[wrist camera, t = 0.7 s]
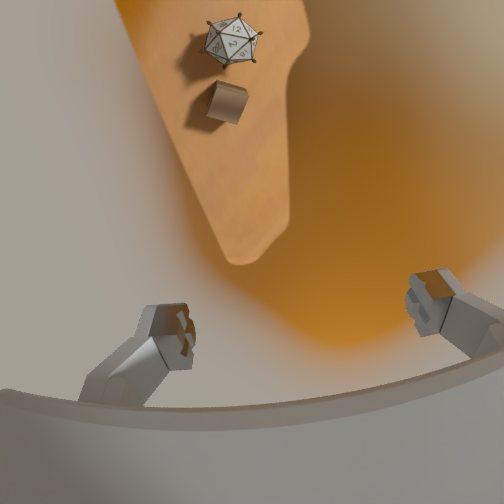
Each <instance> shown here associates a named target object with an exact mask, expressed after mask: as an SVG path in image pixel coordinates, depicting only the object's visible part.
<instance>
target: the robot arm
mask: <svg viewBox="0 0 504 504" xmlns="http://www.w3.org/2000/svg"><path fill="white" fill-rule="evenodd" d="M409 284H410V286H411V288H410V289H409V290H408V291H407V293H406V299H405V301H406V309H407V312H408V314H409V315H410V317H412V318H413V319H415V324H414V325H415V327H416V329H417V331H418V332H419V334H420V336H421V337H424V336H429V335H433V334H437V333H440V335H442V336H443V337H444V338H445V339H447V340H448V341H449V342H451V343H452V344H453V345H455V346H456V347H457V348H458V349H460V350H461V351H462V352H464V353H465V354H466V355H468V356H469V357H470V358H471V359H470V360H467V361H464V362H461V363H458V364H455V365H452V366H450V367H446V368H443V369H440V370H437V371H433V372H430V373H427V374H423V375H420V376H416V377H412V378H409V379H405V380H401V381H397V382H393V383H389V384H385V385H380V386H376V387H372V388H367V389H362V390H358V391H352V392H347V393H342V394H336V395H330V396H324V397H317V398H311V399H303V400H296V401H288V402H279V403H270V404H259V405H247V406H231V407H205V408H160V407H159V408H158V407H156V408H155V407H144V406H143V404H144V403H145V402H146V401H147V399H148V398H149V397H150V396H151V395H152V393H153V392H154V391H155V390H156V388H157V387H158V386H159V384H160V383H161V382H162V381H163V379H164V378H165V377H166V376H167V374H168V373H169V371H171V370H189V369H192V363H193V356H194V354H193V352H192V348H193V347H194V346H195V341H196V333H195V327H194V323H193V320H191V319H190V318H189V309H188V306H187V304H186V303H175V304H159V305H147V306H145V307H144V309H143V312H142V314H141V318H140V320H139V323H138V327H137V329H136V332H135V335H134V337H131V338H129V339H128V340H127V341H126V342H124V343H123V344H122V345H121V346H120V347H119V348H118V349H117V350H115V351H114V352H113V353H112V354H111V355H110V356H108V357H107V358H106V359H105V360H104V361H103V362H102V363H100V364H99V365H98V366H97V367H96V368H95V369H94V370H93V371H91V372H90V373H89V374H88V375H87V377H86V380H85V382H84V385H83V388H82V391H81V393H80V396H79V399H78V401H72V400H65V399H58V398H52V397H46V396H40V395H34V394H30V393H25V392H20V391H16V390H12V389H2V390H0V504H504V310H503V309H502V308H500V307H498V306H496V305H494V304H492V303H490V302H488V301H486V300H484V299H482V298H480V297H478V296H476V295H474V294H472V293H470V292H468V293H466V291H465V290H464V289H463V287H462V286H461V285H460V284H459V282H458V281H457V280H456V278H455V277H454V276H453V275H452V274H451V272H450V271H449V270H448V269H447V268H440V269H435V270H432V271H426V272H420V273H415V274H412V275H411V276H410V279H409Z"/></svg>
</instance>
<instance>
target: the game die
mask: <svg viewBox="0 0 504 504" xmlns="http://www.w3.org/2000/svg"><path fill="white" fill-rule="evenodd" d="M241 15H242V14H241V12H240V13H238V17H236V18H232V19H228V20H224V21H220V22H217V23H213V24H211V22H210V21H207V24H208V25H210V28H209V32H208V36H207V40H206V44H205V48H204V49H202V50H200V51H199V53H202V52H204V51H205V52H207V53H208V54H210V55H211V56H213V57H214V58H215V59H217V60H218V61H219V62H221V63H222V64H224V65H223V67H222V68H223V70H224V69H225V68H226V65H228V64H233V63H238V62H243V61H248V60H252V62H253V63H256V60H255V59H253V55H254V51H255V47H256V43H257V38H258V35H262V34H263V33H264V32H261V31H260V32H258V33H257V32H256V31H255V30H254V29H253V28H252V27H250V26H249V25H248V24H247V23H246V22H245V21H244V20H242V19H241V18H240V17H241Z"/></svg>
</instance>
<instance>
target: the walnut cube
mask: <svg viewBox="0 0 504 504" xmlns="http://www.w3.org/2000/svg"><path fill="white" fill-rule="evenodd" d="M248 98H249V96H248V94H247V91H246V89H245V88H242V87H239V86H235V85H232V84H229V83H225V82H222V81H219V80H217V81H216V83H215V86H214V89H213V91H212V94H211V97H210V99H209V102H208V105H207V117H211V118H215V119H218V120H222V121H226V122H229V123H233V124H236V125H237V124H238V121H239V119H240V117H241V114H242V112H243V110H244V107H245V105H246V102H247V100H248Z"/></svg>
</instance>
